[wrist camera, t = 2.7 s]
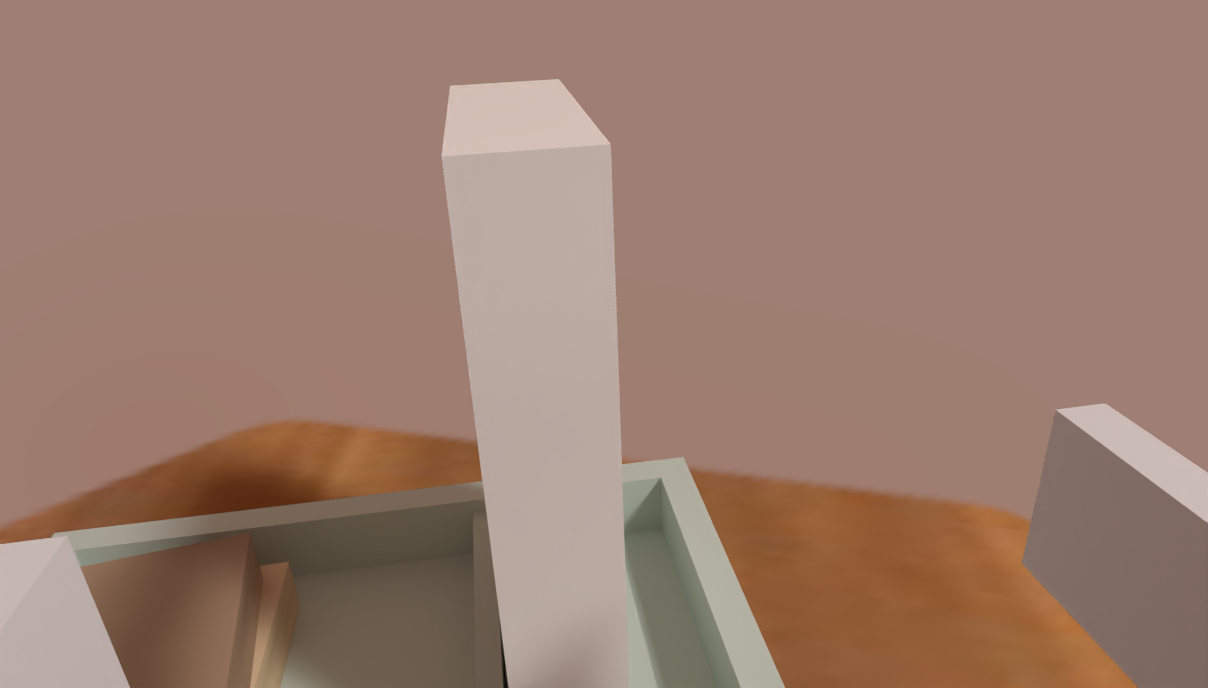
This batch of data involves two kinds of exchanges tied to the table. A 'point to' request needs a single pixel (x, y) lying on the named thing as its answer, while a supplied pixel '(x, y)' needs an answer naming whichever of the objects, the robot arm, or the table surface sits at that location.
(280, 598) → the offcut lower
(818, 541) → the table surface
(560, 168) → the white rectangular block
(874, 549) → the table surface
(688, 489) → the tray
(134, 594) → the offcut upper
